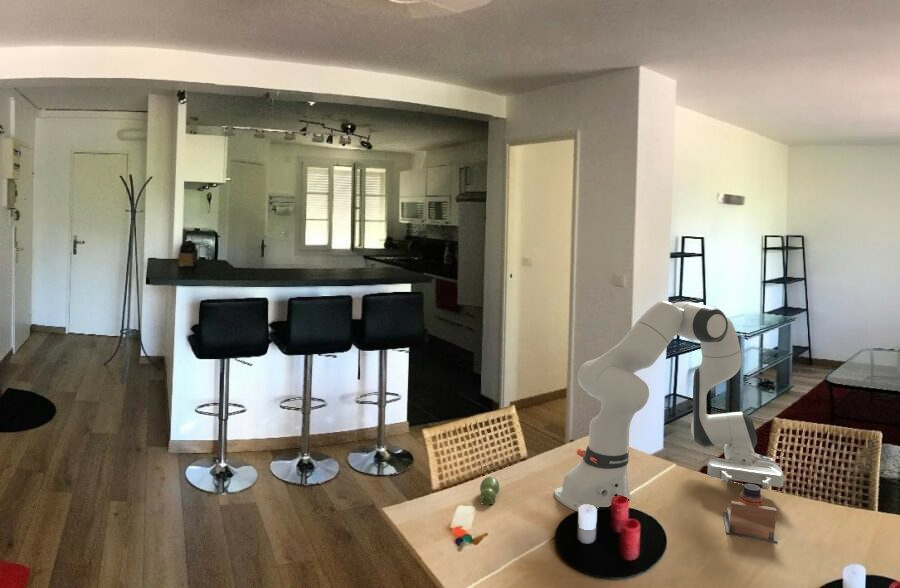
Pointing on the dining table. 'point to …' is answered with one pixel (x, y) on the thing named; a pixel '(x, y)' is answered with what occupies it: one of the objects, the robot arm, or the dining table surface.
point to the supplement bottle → (751, 495)
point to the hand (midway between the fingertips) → (747, 483)
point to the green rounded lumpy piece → (489, 490)
